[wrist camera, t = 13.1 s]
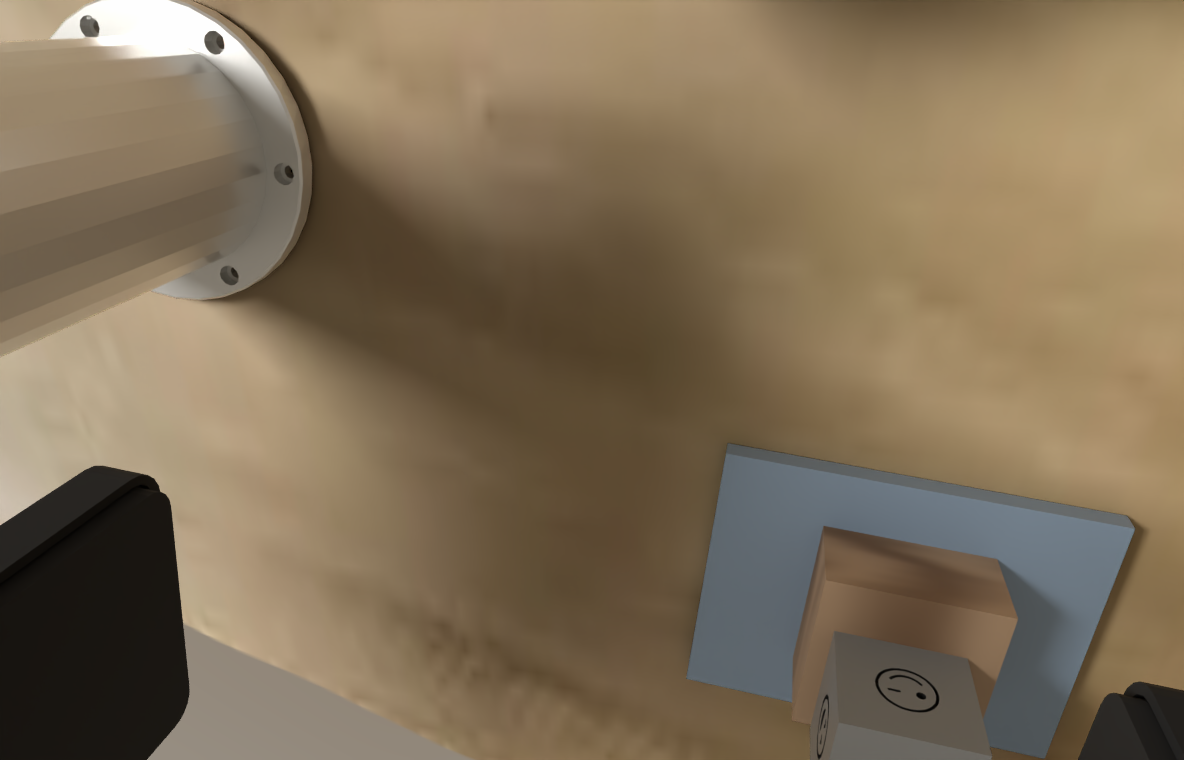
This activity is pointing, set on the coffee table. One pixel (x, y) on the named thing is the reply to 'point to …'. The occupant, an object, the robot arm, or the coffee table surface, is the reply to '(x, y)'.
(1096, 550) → the blue board
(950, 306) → the coffee table surface
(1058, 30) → the coffee table surface
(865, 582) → the light brown plinth
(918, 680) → the grey symbol cube
